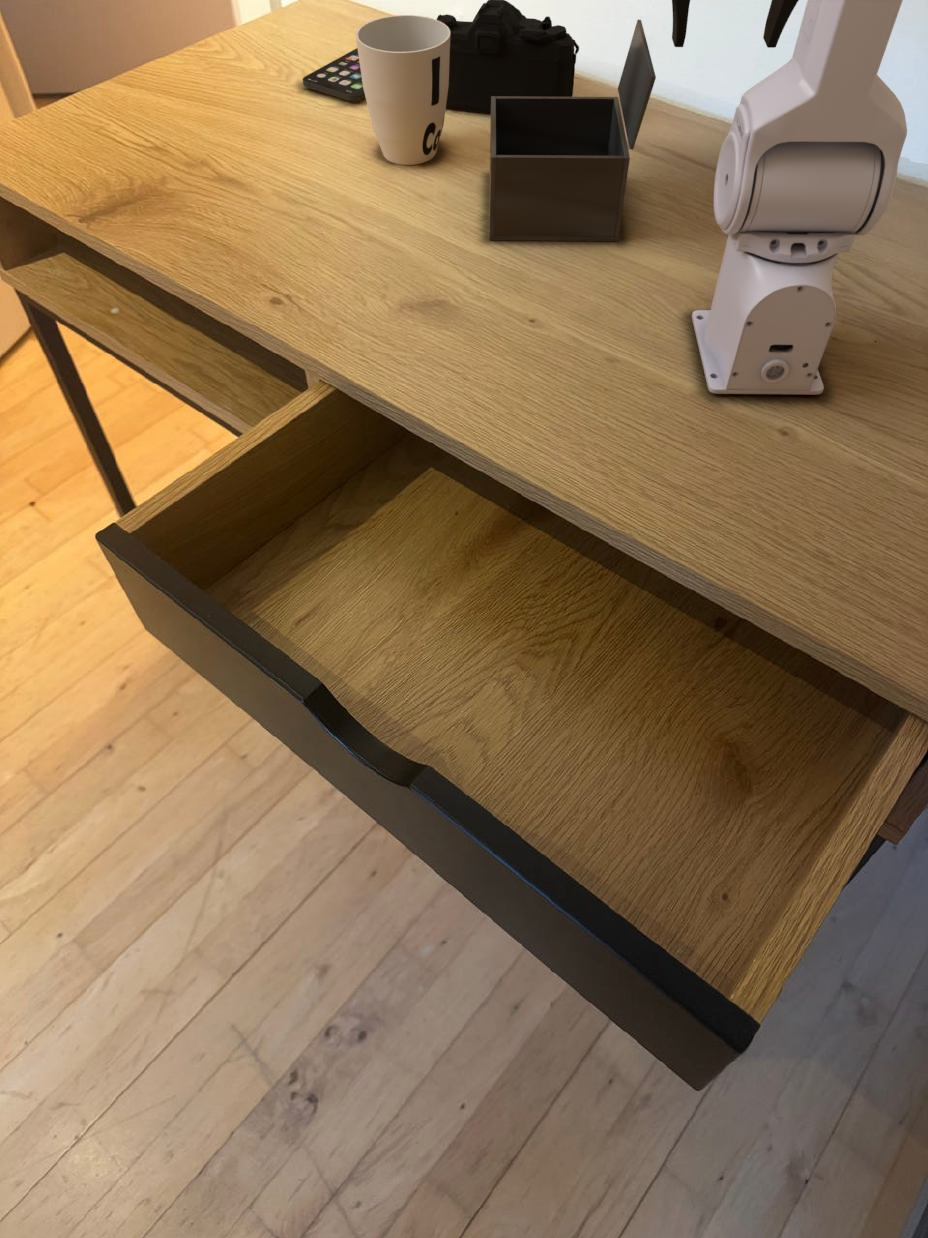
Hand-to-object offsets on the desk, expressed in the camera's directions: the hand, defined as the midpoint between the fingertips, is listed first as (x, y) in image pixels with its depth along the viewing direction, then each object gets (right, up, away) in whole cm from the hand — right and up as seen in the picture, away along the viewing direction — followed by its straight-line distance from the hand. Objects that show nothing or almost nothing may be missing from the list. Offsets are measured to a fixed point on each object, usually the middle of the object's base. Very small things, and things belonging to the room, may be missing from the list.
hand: (723, 42), depth 76 cm
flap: (-8, -6, -5) cm, 12 cm away
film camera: (-18, +5, +17) cm, 25 cm away
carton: (-14, -12, +3) cm, 19 cm away
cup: (-27, -4, +10) cm, 29 cm away
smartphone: (-32, +10, +21) cm, 39 cm away
